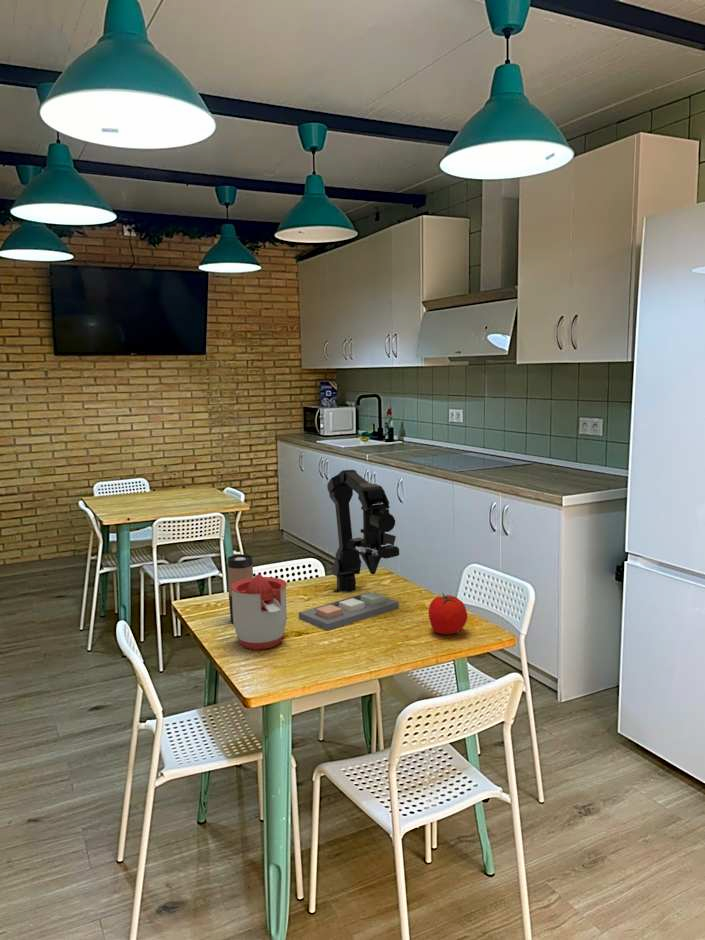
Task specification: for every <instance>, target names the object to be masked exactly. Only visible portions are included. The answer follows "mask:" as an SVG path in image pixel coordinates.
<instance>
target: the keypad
mask: <svg viewBox="0 0 705 940" xmlns="http://www.w3.org/2000/svg"><path fill="white" fill-rule="evenodd" d="M368 593H372V592H370V591H368V592H365V593H361V594H358V595H354V596H351V597H346V598H344V599H340V600H336V601H334V602H330V603H327V604H322V605H320V606H315V607H312V608H308V609H305V610H302V611H299V612H298V620H300V621H303V622H306V623H308V624H310V625H313V626H315V627H318V628H319V629H322V630H325V631H327V632H329V631H331V630H334V629H337V628H341V627H344V626H347V625H350V624H354V623H356V622H359V621H364V620H366V619H369V618H372V617H375V616H378V615H382V614H385V613H388V612H390V611H394V610H398V609H399V608H400V606H399V605H400V603H399V600H398V601H397V600H394V599H391V598H388V597H386V602H384V603H381V604H377V605H374V606H371V605H368V604H365V603H364V609H361V610H358V611H355V612H351V613H350V612H347V611H345V610H342V616H338V617H335V618H332V619H328V620H327V619H324V618H322V617H319V616H317V615H316V609H317V608H320V607H324V606H327V605H333V606H336V607H338V608H339V602H341V601H344V600H348V599H351V598H354V599H357V600H359V601H361V596H362V595H365V594H368Z"/></svg>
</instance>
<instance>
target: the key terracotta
mask: <svg viewBox="0 0 705 940" xmlns="http://www.w3.org/2000/svg"><path fill="white" fill-rule="evenodd" d="M316 615H317V616H319V617H322V618H324V619H327V620H328V619H332V618H335V617H338V616H342V609H341V608H338V607H336V606H333V605H327V606H324V607H320V608H317V609H316Z"/></svg>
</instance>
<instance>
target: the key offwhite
mask: <svg viewBox="0 0 705 940" xmlns="http://www.w3.org/2000/svg"><path fill="white" fill-rule="evenodd" d="M339 608H341V609H342V610H345V611H347V612H350V613H351V612H355V611H358V610H361V609H364V602H362V601H359V600H357V599H354V598H351V599H348V600H344V601H341V602H339Z"/></svg>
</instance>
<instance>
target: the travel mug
mask: <svg viewBox="0 0 705 940" xmlns="http://www.w3.org/2000/svg"><path fill="white" fill-rule="evenodd" d="M227 577H228V578H227V580H228V583H227V584H228V601H229V615H230V616H229V617H230V622H231V623H232V624H233V625H234V622H233V607H232V589H231V585H232V584H233V583H235V582H237V581H239V580H242V579H247V578H254V564H253V556H252V555H250V554H244V553H243V554H233V555H230V556H228V557H227Z"/></svg>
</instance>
